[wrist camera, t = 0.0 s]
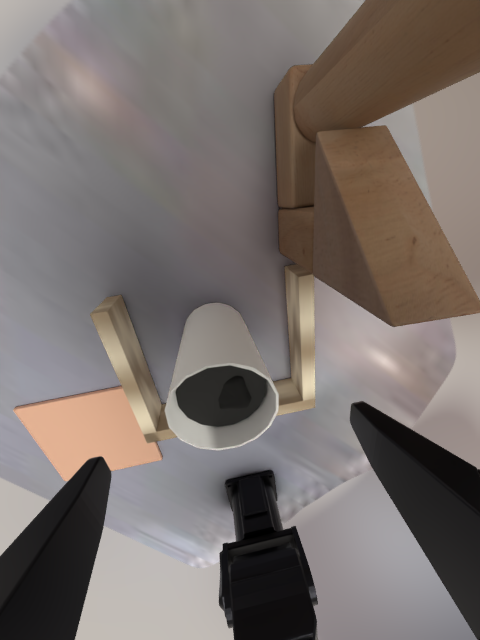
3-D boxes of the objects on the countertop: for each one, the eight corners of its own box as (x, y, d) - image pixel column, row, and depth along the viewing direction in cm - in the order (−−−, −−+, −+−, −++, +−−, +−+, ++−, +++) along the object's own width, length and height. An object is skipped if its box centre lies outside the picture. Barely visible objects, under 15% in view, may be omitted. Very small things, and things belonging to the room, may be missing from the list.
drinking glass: (240, 288, 22) (267, 347, 13) (257, 349, 25) (287, 431, 16) (167, 310, 22) (144, 384, 13) (192, 369, 25) (188, 462, 16)
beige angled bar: (302, 384, 28) (315, 407, 25) (153, 415, 27) (147, 443, 24) (297, 263, 22) (313, 274, 19) (106, 297, 21) (90, 314, 18)
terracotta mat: (162, 456, 30) (162, 459, 29) (66, 477, 29) (64, 481, 28) (132, 383, 25) (131, 386, 24) (15, 406, 24) (13, 409, 24)
